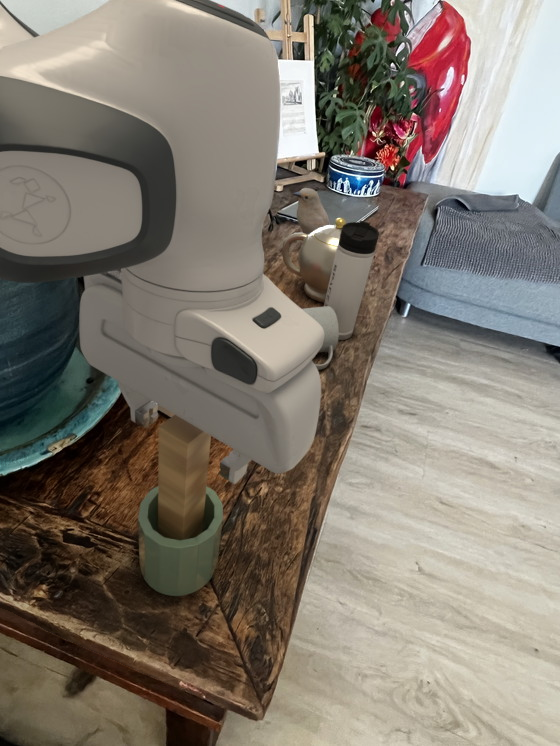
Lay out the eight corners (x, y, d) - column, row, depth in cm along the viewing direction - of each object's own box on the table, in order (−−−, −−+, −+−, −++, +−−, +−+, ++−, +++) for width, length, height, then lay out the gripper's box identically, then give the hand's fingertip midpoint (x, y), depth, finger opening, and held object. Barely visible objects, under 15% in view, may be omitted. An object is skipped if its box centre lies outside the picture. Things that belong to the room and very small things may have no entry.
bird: (281, 245, 121) (291, 183, 112) (333, 249, 124) (346, 189, 116) (285, 254, 117) (295, 190, 109) (338, 257, 121) (353, 195, 112)
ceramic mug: (276, 337, 87) (283, 299, 82) (318, 335, 90) (327, 298, 85) (295, 374, 79) (304, 334, 75) (341, 371, 82) (352, 332, 77)
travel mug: (355, 327, 94) (383, 226, 82) (347, 344, 89) (377, 238, 77) (323, 318, 95) (347, 216, 83) (314, 334, 90) (338, 227, 78)
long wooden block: (180, 575, 48) (187, 444, 38) (157, 558, 49) (158, 426, 39) (200, 553, 50) (212, 424, 40) (178, 537, 51) (184, 407, 41)
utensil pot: (183, 612, 46) (186, 564, 41) (123, 566, 49) (119, 515, 44) (232, 555, 52) (239, 506, 47) (175, 516, 54) (177, 466, 50)
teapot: (364, 291, 107) (384, 217, 98) (352, 319, 97) (374, 239, 87) (286, 269, 110) (298, 196, 101) (266, 294, 100) (278, 214, 90)
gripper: (46, 260, 34) (69, 410, 42) (297, 386, 27) (266, 538, 35) (116, 237, 39) (125, 377, 47) (348, 340, 31) (309, 484, 39)
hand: (186, 447), depth 41 cm, fingers open, 8 cm apart
